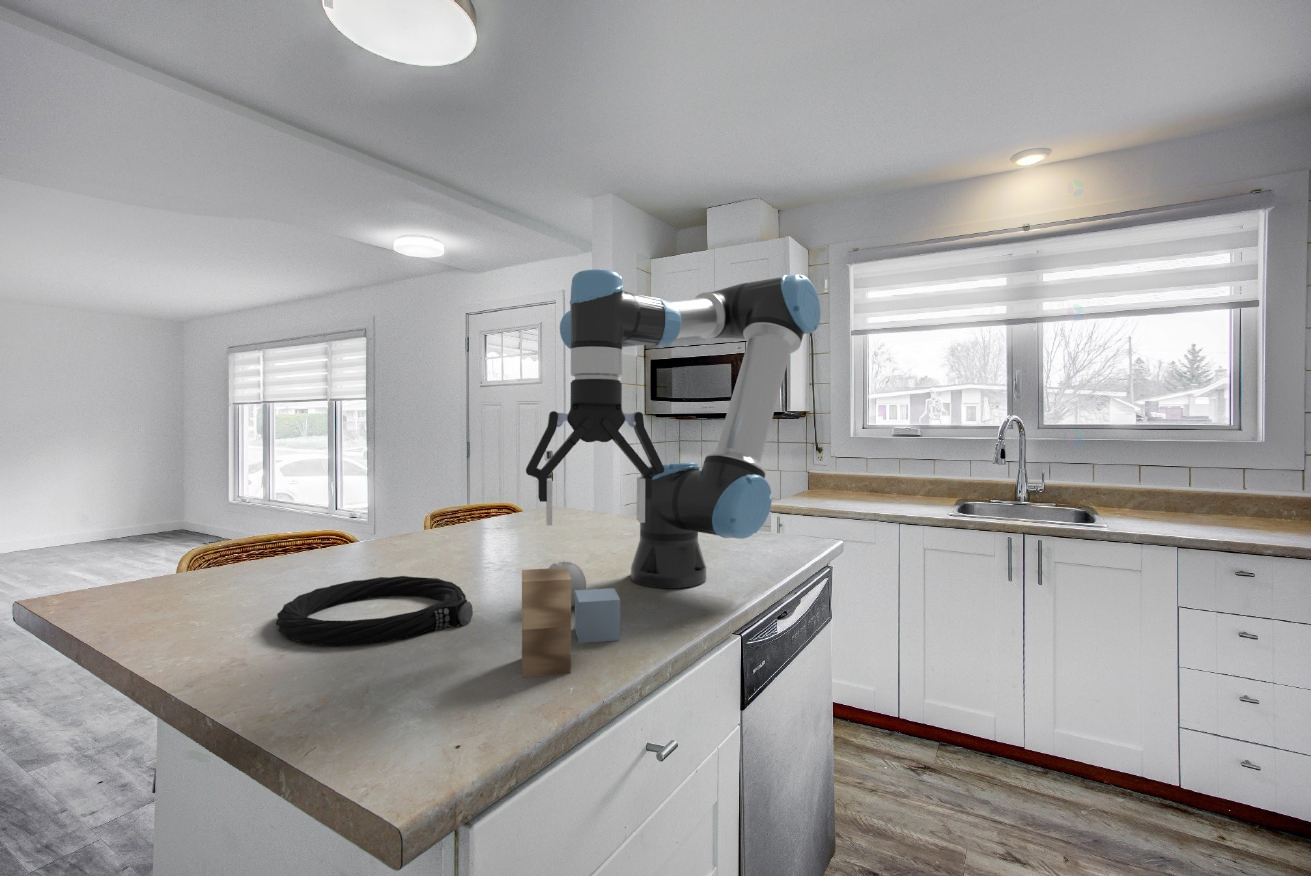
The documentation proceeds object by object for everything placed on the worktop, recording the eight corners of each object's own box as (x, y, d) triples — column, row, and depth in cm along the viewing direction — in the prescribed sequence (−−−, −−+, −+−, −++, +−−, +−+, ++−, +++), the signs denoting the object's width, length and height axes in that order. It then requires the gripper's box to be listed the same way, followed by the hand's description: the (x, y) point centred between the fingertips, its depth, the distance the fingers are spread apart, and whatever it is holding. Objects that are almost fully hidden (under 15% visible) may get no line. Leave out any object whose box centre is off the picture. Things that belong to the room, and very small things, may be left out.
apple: (594, 605, 104) (595, 559, 104) (564, 617, 98) (564, 568, 98) (562, 597, 109) (562, 553, 108) (530, 608, 102) (530, 561, 102)
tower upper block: (567, 611, 83) (567, 567, 82) (570, 626, 77) (571, 579, 76) (521, 614, 81) (521, 569, 81) (522, 629, 75) (522, 581, 75)
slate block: (613, 626, 94) (613, 588, 94) (620, 640, 88) (620, 599, 88) (574, 629, 93) (575, 590, 93) (578, 643, 87) (578, 602, 87)
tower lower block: (566, 655, 83) (567, 611, 83) (570, 673, 77) (570, 626, 77) (521, 658, 81) (521, 614, 81) (522, 677, 76) (522, 629, 75)
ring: (358, 569, 114) (507, 578, 108) (359, 589, 114) (507, 600, 108) (228, 617, 87) (416, 632, 81) (228, 643, 87) (417, 661, 81)
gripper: (672, 381, 96) (671, 515, 96) (509, 378, 90) (509, 520, 91) (684, 379, 88) (683, 524, 89) (508, 375, 83) (508, 529, 84)
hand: (595, 522), depth 90 cm, fingers open, 13 cm apart
